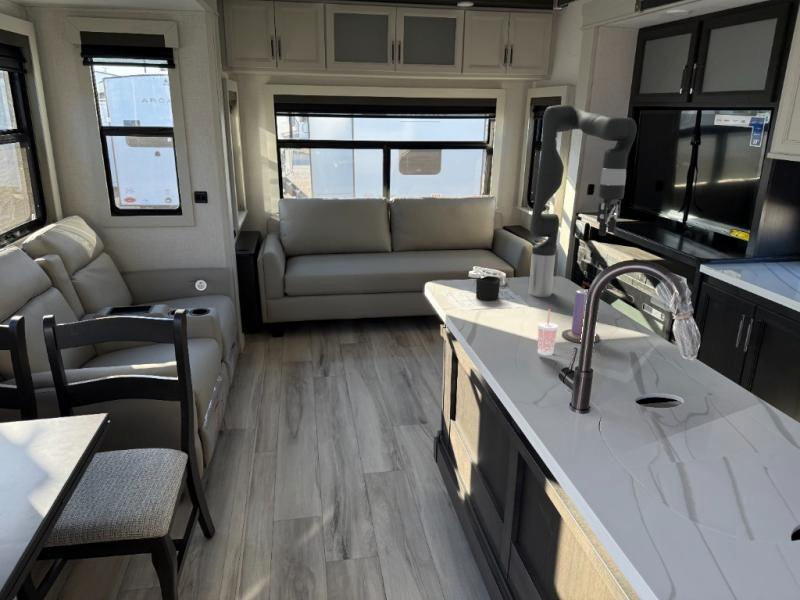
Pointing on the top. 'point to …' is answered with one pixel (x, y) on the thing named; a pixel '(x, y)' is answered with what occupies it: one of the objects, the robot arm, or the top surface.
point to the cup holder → (479, 273)
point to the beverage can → (579, 311)
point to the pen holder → (487, 288)
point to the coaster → (570, 337)
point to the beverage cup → (546, 336)
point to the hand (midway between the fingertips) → (606, 233)
